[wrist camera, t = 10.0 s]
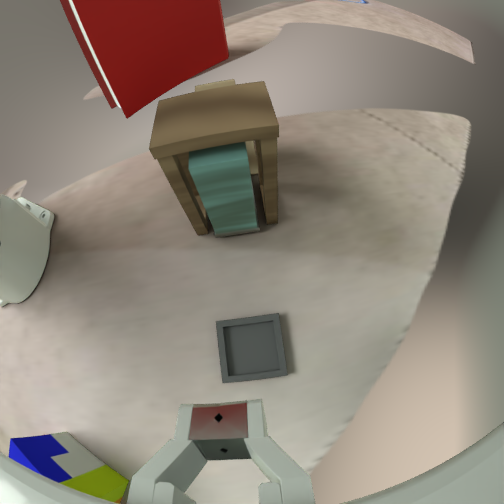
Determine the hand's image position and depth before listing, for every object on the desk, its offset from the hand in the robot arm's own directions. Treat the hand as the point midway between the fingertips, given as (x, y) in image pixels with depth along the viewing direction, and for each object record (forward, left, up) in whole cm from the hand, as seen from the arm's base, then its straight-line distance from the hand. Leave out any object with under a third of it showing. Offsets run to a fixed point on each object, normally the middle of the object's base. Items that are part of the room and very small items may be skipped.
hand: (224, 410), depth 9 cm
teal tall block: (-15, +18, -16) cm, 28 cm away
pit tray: (-2, +3, -16) cm, 17 cm away
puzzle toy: (-8, -25, -17) cm, 31 cm away
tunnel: (-12, +15, -16) cm, 25 cm away
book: (-43, +36, -17) cm, 59 cm away
